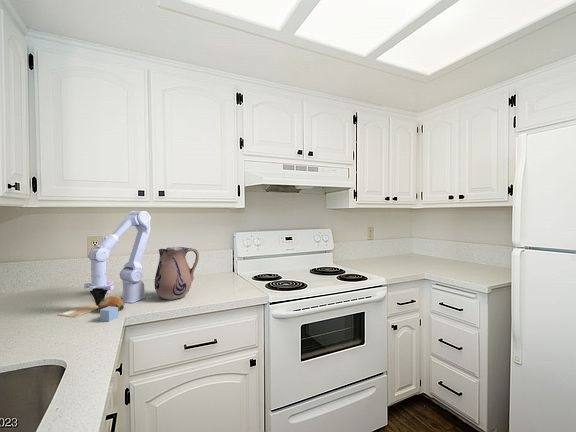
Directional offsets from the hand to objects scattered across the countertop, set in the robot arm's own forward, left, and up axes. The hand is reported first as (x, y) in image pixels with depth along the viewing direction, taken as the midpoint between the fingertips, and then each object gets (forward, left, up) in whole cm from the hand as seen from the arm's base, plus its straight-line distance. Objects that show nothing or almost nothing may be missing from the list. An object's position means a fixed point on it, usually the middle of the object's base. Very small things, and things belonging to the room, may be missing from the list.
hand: (99, 305), depth 134 cm
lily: (-21, -21, -2) cm, 30 cm away
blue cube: (+8, +14, -2) cm, 16 cm away
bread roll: (-1, +6, -2) cm, 7 cm away
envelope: (+2, -6, -2) cm, 7 cm away
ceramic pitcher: (-26, +22, -2) cm, 34 cm away
